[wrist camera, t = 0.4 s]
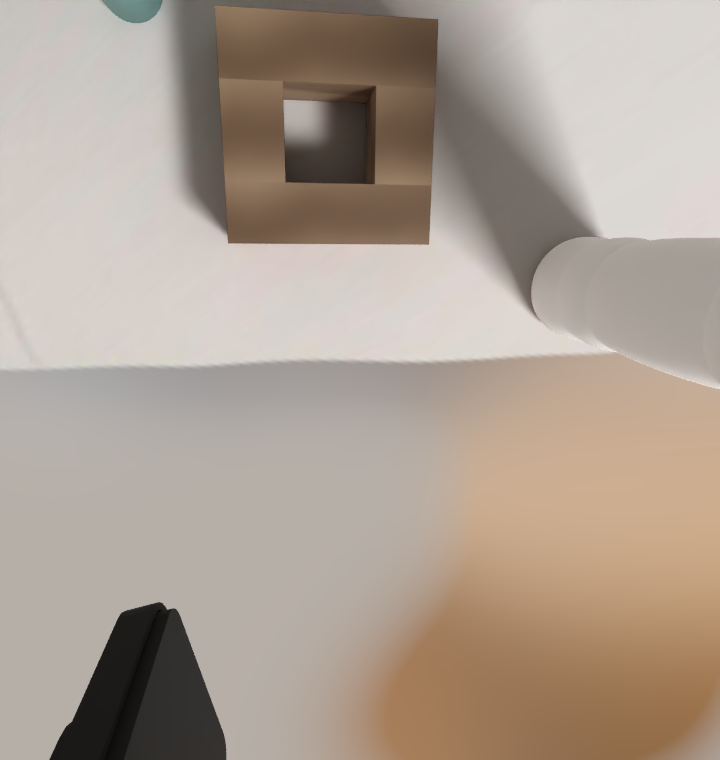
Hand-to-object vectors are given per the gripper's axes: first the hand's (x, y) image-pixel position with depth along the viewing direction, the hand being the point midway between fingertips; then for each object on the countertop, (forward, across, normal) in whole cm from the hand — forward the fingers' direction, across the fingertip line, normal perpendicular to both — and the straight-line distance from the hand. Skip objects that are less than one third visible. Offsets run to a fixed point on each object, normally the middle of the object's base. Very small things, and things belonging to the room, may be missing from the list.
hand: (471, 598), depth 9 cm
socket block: (+29, -2, -11) cm, 31 cm away
